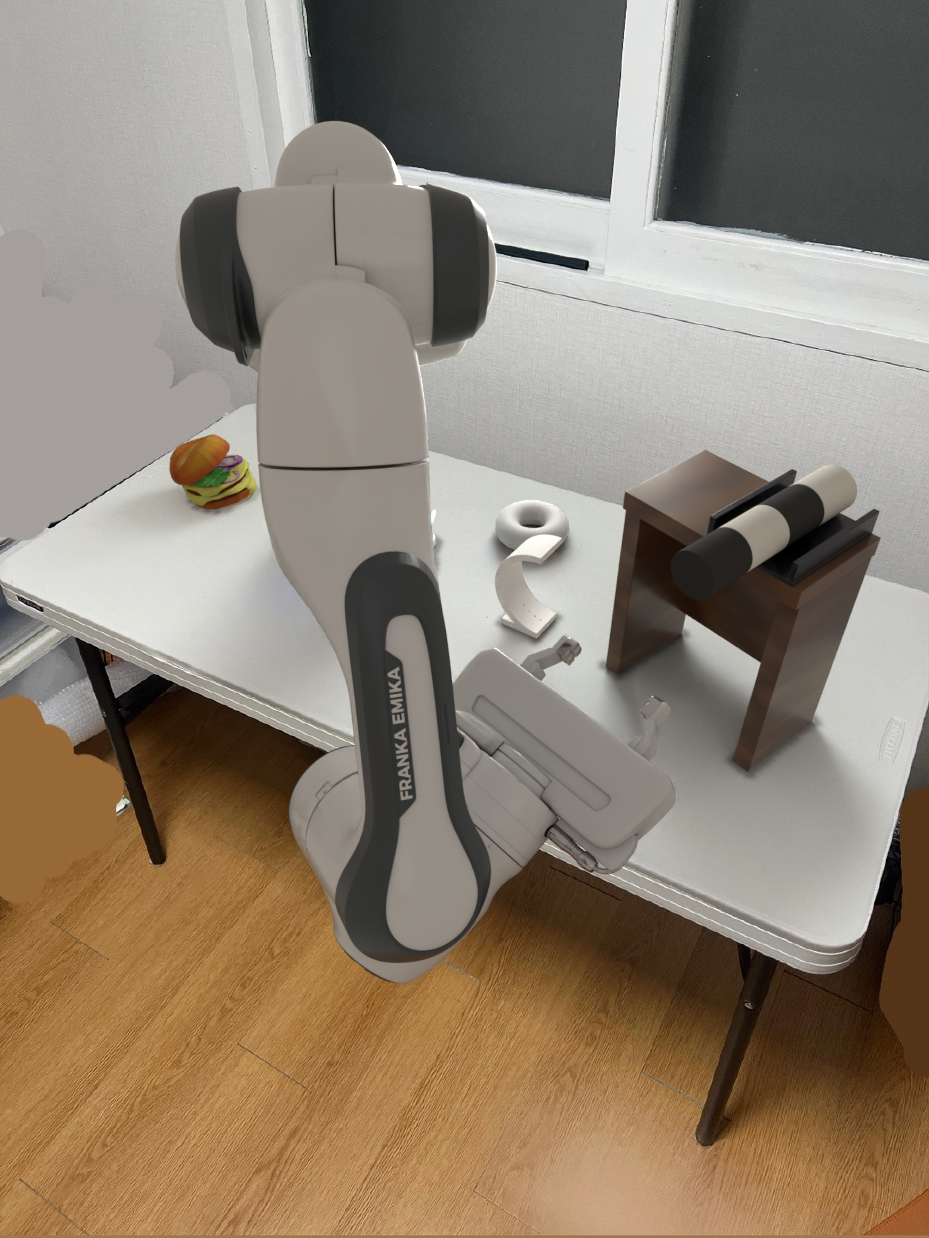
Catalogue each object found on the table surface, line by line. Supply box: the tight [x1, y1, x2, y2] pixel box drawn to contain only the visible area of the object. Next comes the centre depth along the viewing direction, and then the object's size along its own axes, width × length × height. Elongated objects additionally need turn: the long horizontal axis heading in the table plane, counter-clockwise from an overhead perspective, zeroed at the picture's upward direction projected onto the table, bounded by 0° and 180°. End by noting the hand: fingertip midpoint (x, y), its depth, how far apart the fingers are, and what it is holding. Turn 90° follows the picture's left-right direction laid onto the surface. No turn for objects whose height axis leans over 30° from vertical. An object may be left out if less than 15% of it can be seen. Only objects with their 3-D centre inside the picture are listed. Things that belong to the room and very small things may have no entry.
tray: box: [707, 468, 881, 587], centre depth 80 cm, size 9×12×2 cm
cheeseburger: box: [169, 433, 257, 510], centre depth 127 cm, size 10×11×10 cm
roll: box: [671, 464, 858, 600], centre depth 77 cm, size 20×4×4 cm, turn 129°
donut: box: [494, 499, 570, 551], centre depth 120 cm, size 10×4×10 cm
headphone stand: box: [494, 535, 563, 639], centre depth 105 cm, size 5×6×12 cm
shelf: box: [605, 449, 882, 773], centre depth 91 cm, size 20×12×24 cm, turn 39°
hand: (617, 670), depth 73 cm, fingers open, 8 cm apart
